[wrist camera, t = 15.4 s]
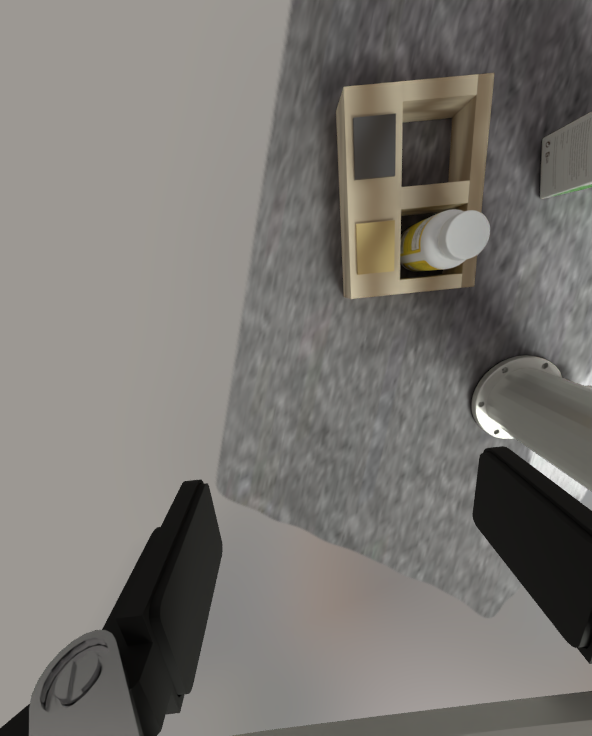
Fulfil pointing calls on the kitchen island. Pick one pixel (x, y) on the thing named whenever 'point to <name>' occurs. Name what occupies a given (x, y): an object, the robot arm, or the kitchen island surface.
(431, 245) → the supplement bottle
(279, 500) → the kitchen island surface
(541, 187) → the skincare box
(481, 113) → the socket block
